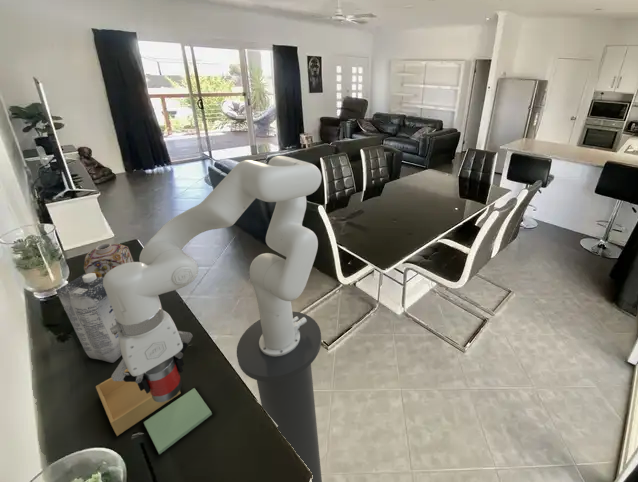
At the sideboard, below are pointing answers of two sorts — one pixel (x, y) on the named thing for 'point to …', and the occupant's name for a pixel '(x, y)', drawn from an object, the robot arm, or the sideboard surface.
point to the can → (163, 380)
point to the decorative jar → (106, 258)
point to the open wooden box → (126, 403)
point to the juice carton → (91, 316)
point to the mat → (177, 420)
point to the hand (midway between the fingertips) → (163, 378)
